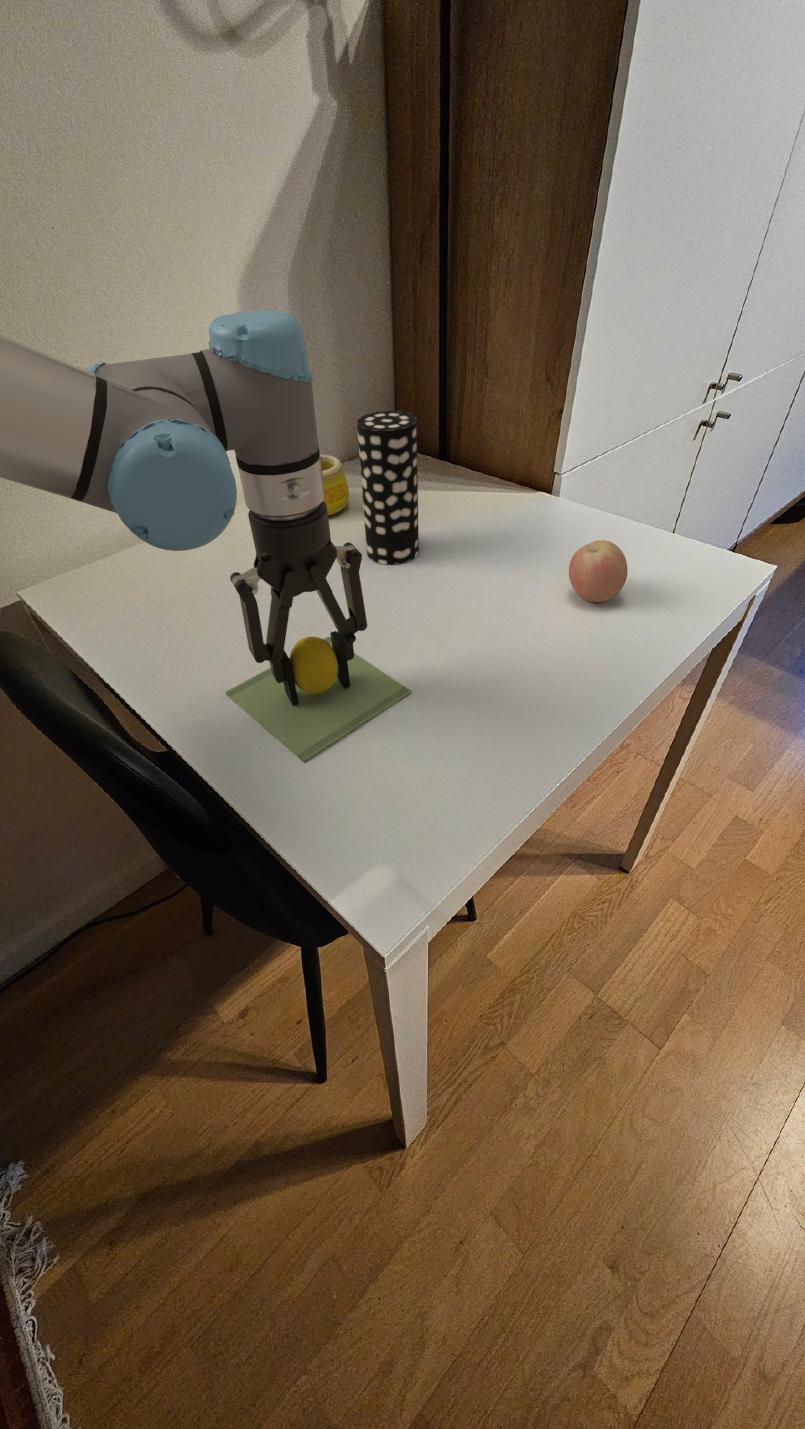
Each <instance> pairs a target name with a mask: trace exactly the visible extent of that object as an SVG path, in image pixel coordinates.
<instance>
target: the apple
mask: <svg viewBox="0 0 805 1429" xmlns="http://www.w3.org/2000/svg"><path fill="white" fill-rule="evenodd" d="M627 577H628V562H627V558H626V556H625V554H624V552H623V551H622V550H621V548H620V547H619V546H618V545H617V544H615V543H614V542H612V541H610V540H609V541H608V540H606V539H605V540H604V539H601V540H600V539H599V540H595V541H591V542H589V543H587V544H585V545H583V546H581V547H579V548H578V549H577V550H576V551H575V552H574V553H573V554H572V556H571V559H570V561H569V565H568V579H569V582H570V585H571V587H572V589H573V590H574V591H575V593H576V594H577V595H578V596H579V597H580V599H581V598H582V599H583V600H585V601H587V602H589V603H591V602H592V603H602V602H606V601H608V600H610V599H611V598H613V597H615V596H616V595H617V594H618V593H619V592H620V591H621V590H622V589H623V587H624V585H625V584H626V581H627Z"/></svg>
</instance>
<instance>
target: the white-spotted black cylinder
mask: <svg viewBox="0 0 805 1429" xmlns="http://www.w3.org/2000/svg"><path fill="white" fill-rule="evenodd" d="M356 428H357V439H358V440H357V442H358V452H359V453H358V454H359V467H360V481H361V492H362V505H363V518H364V531H365V532H364V533H365V544H366V555H367V557H368V558H369V559H370V560H371V561H373V562H375V563H378V564H381V565H400V564H405V563H408V562H410V561H412V560H414V559H415V558H417V556H418V555H419V552H420V540H419V539H420V538H419V536H420V535H419V482H418V480H419V478H418V477H419V475H418V474H419V473H418V471H419V470H418V418H417V417H416V416H415V415H413V414H412V413H409V412H405V411H399V410H397V411H396V410H380V411H374V412H370V413H367V414H364V415H362V416H360V417H359V418H358V419H357V420H356Z"/></svg>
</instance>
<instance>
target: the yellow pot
mask: <svg viewBox="0 0 805 1429" xmlns="http://www.w3.org/2000/svg"><path fill="white" fill-rule="evenodd" d="M320 458H321V466H322V474H323V482H324V489H325V498H324V500H323V501H324V502H325V503H326V505H327V511H328V517H329V516H332V515H335V514H337V513H339V512H340V511H342V510H343V509H344V508H345V507H346V506H347V504H348V501H349V497H350V491H349V485H348V481H347V478H346V474H345V473H344V471H343V468H344V467H343V462H342V461H341V460H340V459H339V458H337V457H335V456H333V455H329V454H322V453H320Z"/></svg>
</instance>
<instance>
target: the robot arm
mask: <svg viewBox="0 0 805 1429" xmlns="http://www.w3.org/2000/svg"><path fill="white" fill-rule="evenodd" d="M208 335H209V341H208V348H206V349H205V348H204V349H200V350H199V351H198V352H192V353H185V354H177V355H170V356H161V357H154V358H145V359H137V360H129V361H122V362H114V363H106V362H99V363H96V364H95V365H94V366H90V367H89V366H88V367H85V368H80V367H78V366H76V365H73V364H71V363H68V362H66V361H63V360H62V359H59V358H56V357H53V356H52V355H49V354H47V353H45V352H42V351H39V350H38V349H35V348H32V347H30V346H27V345H25V344H23V343H21V342H18V341H16V340H13V339H11V338H8V337H6V336H3V335H1V334H0V478H1V479H4V480H7V481H11V482H14V483H18V484H19V485H20V484H21V485H23V486H28V487H30V488H34V489H37V490H41V491H44V492H47V493H50V494H54V495H57V496H61V497H64V498H67V499H71V500H74V501H77V502H80V503H83V504H87V505H89V506H93V507H95V508H99V509H102V510H105V511H108V512H112V513H114V514H115V513H116V515H118V517H119V519H120V521H121V522H122V523H123V524H124V525H125V527H126V528H127V529H128V530H129V531H130V532H131V533H132V534H133V535H134V536H135V537H137V538H138V539H140V540H141V541H143V542H145V543H146V544H148V545H149V546H152V547H154V548H156V549H161V550H164V551H170V552H171V551H172V552H183V551H191V550H195V549H198V548H201V547H204V546H206V545H208V544H210V543H211V542H213V541H215V539H217V538H219V536H220V535H221V534H223V532H224V531H225V530H226V529H227V528H228V525H229V524H230V523H231V520H232V519H233V517H234V515H235V510H236V506H237V501H238V500H237V499H238V490H237V489H238V488H237V482H236V478H235V474H234V471H233V469H232V466H231V462H230V459H229V456H228V453H227V452H228V451H229V452H230V451H234V454H235V460H236V466H237V469H238V474H239V479H240V483H241V488H242V494H243V498H244V499H243V500H244V503H245V507H247V509H248V514H247V516H248V521H249V527H250V530H251V535H252V539H253V544H254V549H255V558H254V561H253V567H251V568H250V569H248V570H247V571H245V572H243V573H240V572H238V571H235V572H232V573H231V574H230V575H229V576H230V577H229V579H230V580H229V581H230V582H231V584H232V585H233V587H234V589H235V590H236V593H237V594H238V596H239V601H240V607H241V612H242V618H243V624H244V629H245V635H246V640H247V647H248V649H249V651H250V653H251V656H252V657H253V659H254V661H255V663H257V664H262V663H264V662H265V661H268V662H269V666H270V668H271V670H272V674H273V676H274V678H275V680H276V681H277V682H278V683H282V682H283V683H284V688H285V692H286V694H287V696H288V698H289V700H290V702H291V703H292V705H293V706H295V705H298V704H299V701H298V696H297V691H296V686H295V681H294V676H293V671H292V666H291V661H290V659H289V657H290V656H288V654H287V652H286V650H285V645H286V638H287V630H288V624H289V616H290V610H291V608H292V607H293V602H294V598H295V597H297V596H300V595H301V594H304V593H313V592H315V591H316V593H317V595H318V597H319V599H320V600H321V602H322V604H323V606H324V608H325V610H326V612H327V614H328V616H329V617H330V619H331V621H332V623H333V625H334V627H335V629H336V630H334V631H331V632H330V633H329V634H330V635H329V636H330V638H331V642H332V649H333V651H334V652H335V655H336V658H337V663H338V674H337V678H338V679H339V681H340V682H341V684H342V685H343V687H344V688H348V687H350V679H349V671H348V663H347V661H348V660H352V659H353V658H354V654H355V649H354V643H355V642H356V640H357V637H356V635H355V634H356V633H357V632H364V631H365V630H366V629H367V628H368V621H367V620H368V619H367V613H366V606H365V602H364V594H363V589H362V581H361V577H360V569H361V566H362V565H361V564H362V559H363V554H362V552H360V550H358V549H357V548H356V546H355V545H354V544H353V543H352V542H351V541H350V542H345V543H344V544H343V546H342V545H335V544H334V543H333V541H332V538H331V536H332V535H331V529H330V521H329V516H328V511H327V505H326V503H325V502H324V501H323V500H324V498H325V489H324V482H323V474H322V466H321V458H320V454H321V453H320V446H319V439H318V428H317V420H316V418H317V417H316V409H315V400H314V391H313V389H314V388H313V381H314V379H313V374H312V372H311V367H310V361H309V356H308V350H307V344H306V340H305V333H304V330H303V327H302V325H301V323H300V322H299V320H298V319H297V318H295V317H294V316H292V315H291V314H289V313H288V312H285V311H281V310H273V309H252V310H241V311H236V312H234V313H231V314H222V315H220V316H218V317H215V318H213V320H212V321H211V322H210V324H209V326H208ZM335 561H336V562H337V564H338V565H339V567H340V572H341V578H342V584H343V590H344V595H345V601H346V608H347V611H348V618H346V616H345V614H344V612H343V611H342V608H341V606H340V605H339V603H338V601H337V599H336V597H335V595H334V592H333V590H332V588H331V586H330V584H329V581H328V580H327V577H328V575H329V573H330V571H331V569H332V567H333V565H334V564H335ZM260 580H262V581H263V582H265V583H266V584H267V585H269V586H270V596H271V599H270V606H269V607H270V608H269V616H268V624H267V630H266V640H265V643H264V637H263V636H264V635H263V630H262V623H261V617H260V612H259V605H258V601H257V597H255V595H257V594H258V591H259V585H258V583H259V581H260Z"/></svg>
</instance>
